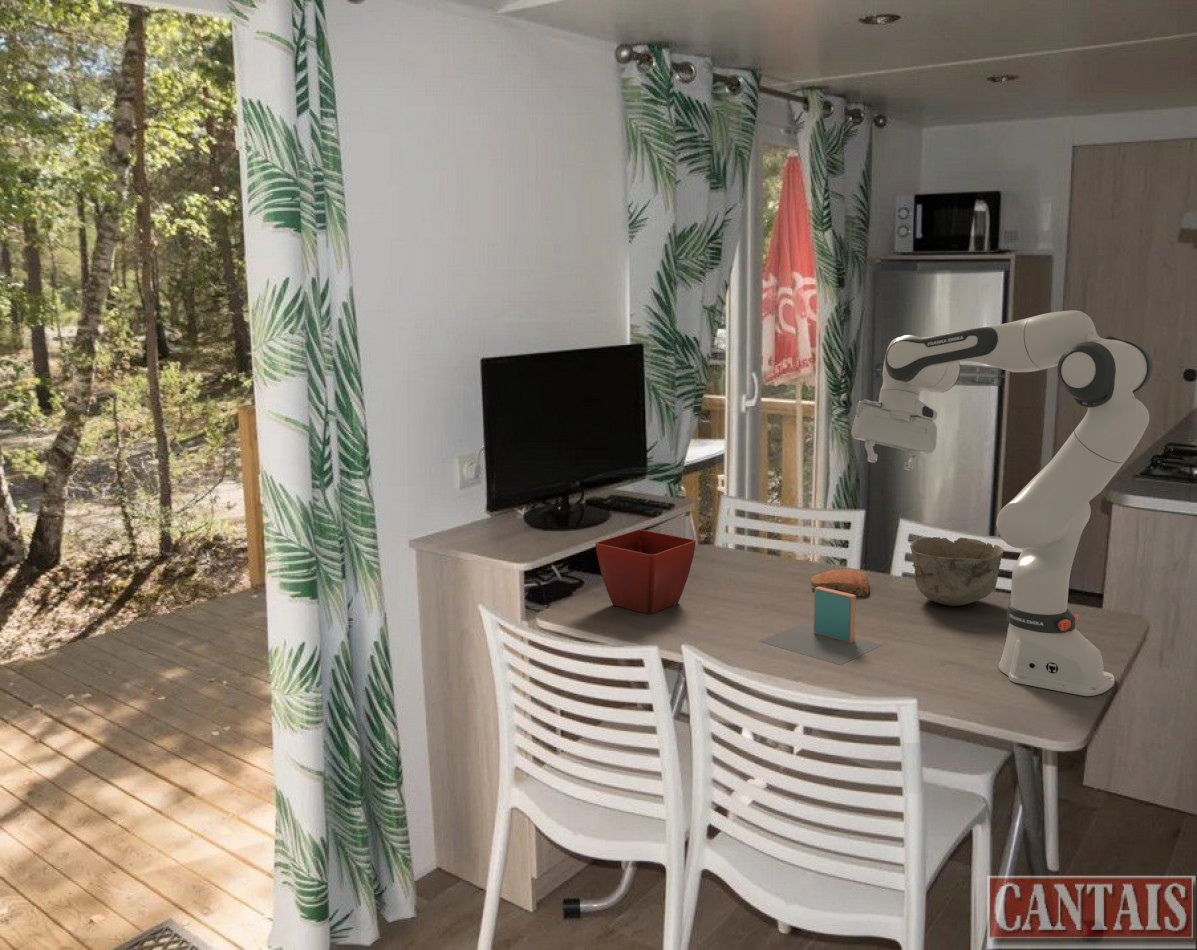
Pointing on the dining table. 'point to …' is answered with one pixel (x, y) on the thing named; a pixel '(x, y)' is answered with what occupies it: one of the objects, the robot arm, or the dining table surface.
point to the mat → (819, 645)
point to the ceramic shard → (843, 581)
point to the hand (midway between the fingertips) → (890, 465)
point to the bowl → (955, 569)
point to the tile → (834, 614)
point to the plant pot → (645, 569)
